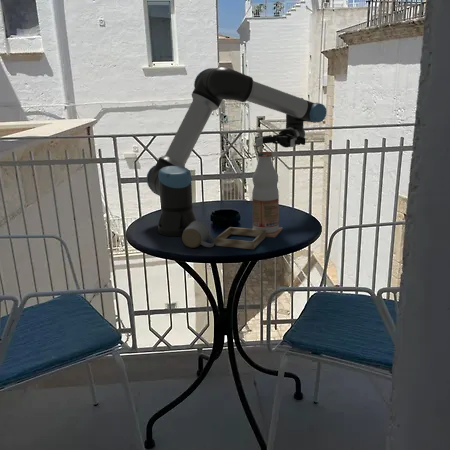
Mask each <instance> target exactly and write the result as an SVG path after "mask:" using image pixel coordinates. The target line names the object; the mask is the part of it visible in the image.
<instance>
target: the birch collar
mask: <svg viewBox="0 0 450 450" xmlns="http://www.w3.org/2000/svg"><path fill="white" fill-rule="evenodd" d="M231 235H236V236H249V237H255V238H253V240H252V241H251V240H243V239H242V240H241V239H230V238H228V237H230V236H231ZM265 238H267V237H266V230H259V229H253V228H247V227H233V226H229V227H227V228H226V229H225V230H224V231H222V232H221V233H220V234H218V235H217V236H216V237H215V238H214V240H215V244H214V246H217V247H227V248H237V249H246V250H247V249H248V250H255V249H256V248H257V246H259V244H260V243H262V242H263V240H265Z"/></svg>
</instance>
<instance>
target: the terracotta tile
mask: <svg viewBox="0 0 450 450" xmlns="http://www.w3.org/2000/svg"><path fill="white" fill-rule="evenodd" d="M282 230H283V227H282V226H279V228H278V231H276V232H273V233H266V237H265V238H276V237H277V236H278V235H279V234H280V233H281V232H282Z"/></svg>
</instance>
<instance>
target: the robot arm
mask: <svg viewBox="0 0 450 450" xmlns="http://www.w3.org/2000/svg"><path fill="white" fill-rule="evenodd" d="M193 87H194V89H193V91H192V93H191V97H192V101H191V103H190V105H189V108H188V109H187V111H186V113H185V115H184V118H183V119H182V121H181V122H180V123H181V124H180V125H179V127H178V129H177V131H176V133H175V134H174V137H173V139H172V141H171V143H170V144H169V146H168V149H167V151H166V153H165V154H164V155H162V156H160V157H159V158H158V160H157V162H156V164H155V165H153V166H151V168H150V169H149V170H148V172H147V175H146V184H147V186H148V188H149V189H150V190H151V192H152V193H154V194H155V195H157V196H159V199H160V209H161V210H160V211H161V212H160V216H159V220H158V224H157V230H158V234H160V235H163V236H167V237H182V234H183V231H184V230H185V229H186V228H187V227H188V226H189V224H190V223H191V222H193V221H198V219H197V217H196V214H195V211H194V208H193V189H192V188H193V187H192V183H193V182H192V181H193V180H192V179H193V178H192V175H191V170H190V169H189V168H187V167H186V163H188V159H189V158H190V155H191V153H192V151H193V149H194V148H195V146H196V144H197V142H198V140H199V138H200V136H201V134H202V133H203V130H204V129H205V126H206V125H207V122H208V121H209V118H210V117H211V114H212V113H213V111H216V110H218V109H219V107H220V106H221V104H222V101H223V100H228V101H235V102H240V103H246V102H249V103H251V104H252V103H253V104H255V105H258V106H261V107H264V108H268V109H270V110H273V111H277V112H279V113H283V114H285V128H284V129H282V130H280V131H279V133H278V134H273V135H272V134H268V135H261V136H255V137H254V144H255V146H256V147H260V146H261V145H264V144H274V145H277V144H279V145H280V146H281V147H283V148H293V147H296V146H300V145H303V146H304V145H306V138H305V137H306V130H305V129H304V122H306V123H308V122H309V123H313V124H315V123H316V124H317V123H322V122H323V121H324V120H325V119H326V117H327V107H326V106H325V105H324V104H323V103H320V102H312V101H309V100H306V99H304V98H303V97H299V96H296V95H293V94H290V93H288V92H285V91H282V90H279V89H277V88H274V87H271V86H268V85H265V84H263V83H261V82H258V81H254V78H253V77H252V76H250V75H247V74H244V73H242V72H239V71H237V70H235V69H232V68H230V67H225V66H222V67H221V66H220V67H209V68H207V69H206V68H205V69H204V70H202V71H200V72H199V73H198V74H197V75H196V77H195V79H194V83H193Z"/></svg>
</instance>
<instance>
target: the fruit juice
mask: <svg viewBox="0 0 450 450" xmlns="http://www.w3.org/2000/svg"><path fill="white" fill-rule="evenodd" d="M257 158H258V162H257V164H256V168H255V171H254V173H253V174H252V179H251V180H252V184H253V188H252V192H251V193H252V195H251V199H252V201H251V202H252V205H251V207H252V209H251V211H252V229H259V230H266V233H273V232H276V231H278V228H279V227H280V226H279V225H280V222H279V221H280V219H279V218H280V213H279V212H280V211H279V210H280V208H279V206H280V205H279V204H280V202H279V201H280V200H279V199H280V194H279V188H278V183H279V174H278V173H277V171H276V169H275V166H274V164H273V161H272V159H273V152H271V151H262V152H258V153H257Z"/></svg>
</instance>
